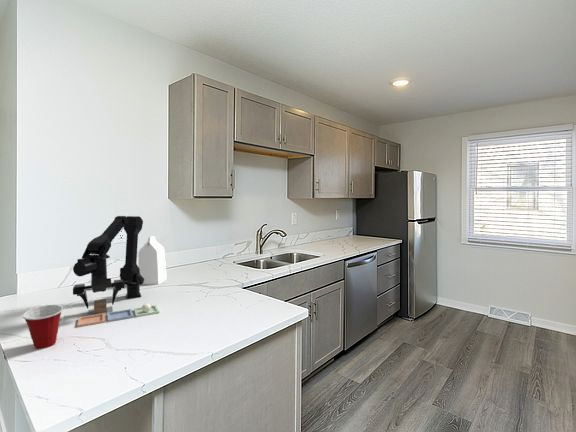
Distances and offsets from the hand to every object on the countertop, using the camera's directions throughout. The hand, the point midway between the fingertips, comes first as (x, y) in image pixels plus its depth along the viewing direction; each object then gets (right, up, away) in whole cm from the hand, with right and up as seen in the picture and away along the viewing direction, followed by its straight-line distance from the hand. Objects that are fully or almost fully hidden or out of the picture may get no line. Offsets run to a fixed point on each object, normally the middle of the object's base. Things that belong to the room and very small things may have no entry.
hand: (100, 306), depth 137 cm
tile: (0, -3, 0) cm, 3 cm away
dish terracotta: (+2, -3, -10) cm, 11 cm away
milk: (+2, +1, +49) cm, 49 cm away
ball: (+20, -2, 0) cm, 20 cm away
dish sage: (+20, -3, 0) cm, 20 cm away
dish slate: (+11, -3, -5) cm, 12 cm away
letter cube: (0, -2, 0) cm, 2 cm away
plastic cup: (-1, -5, -29) cm, 30 cm away
